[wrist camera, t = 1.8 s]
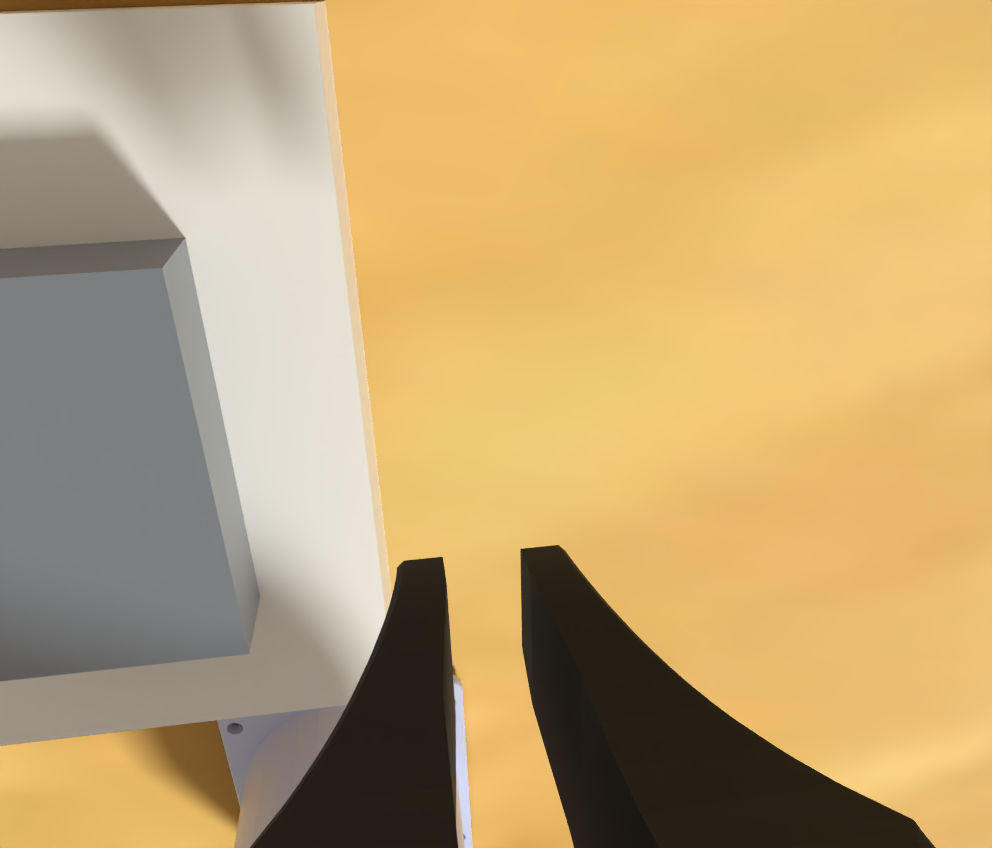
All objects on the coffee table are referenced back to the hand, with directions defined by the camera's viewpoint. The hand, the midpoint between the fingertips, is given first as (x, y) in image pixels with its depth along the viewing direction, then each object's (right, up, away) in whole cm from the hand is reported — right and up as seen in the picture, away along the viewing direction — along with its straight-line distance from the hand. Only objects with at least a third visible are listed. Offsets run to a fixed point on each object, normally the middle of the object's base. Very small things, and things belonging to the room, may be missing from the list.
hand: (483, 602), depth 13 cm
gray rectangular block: (-9, +2, +5) cm, 10 cm away
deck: (-9, +4, +8) cm, 13 cm away
